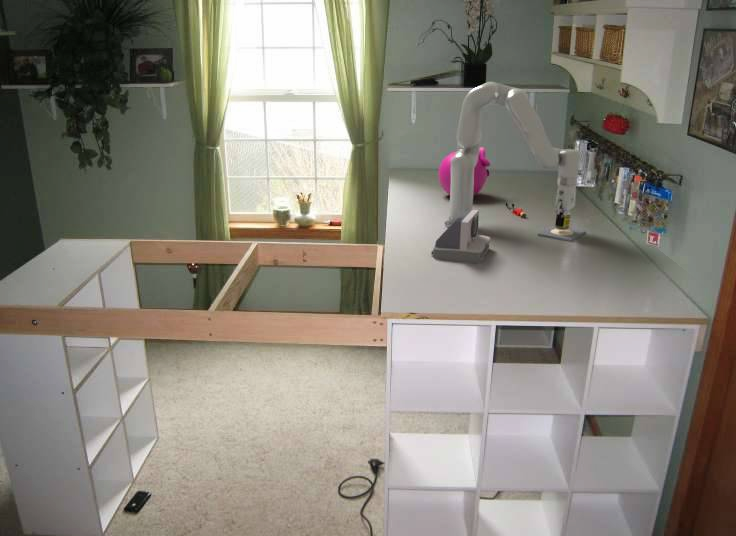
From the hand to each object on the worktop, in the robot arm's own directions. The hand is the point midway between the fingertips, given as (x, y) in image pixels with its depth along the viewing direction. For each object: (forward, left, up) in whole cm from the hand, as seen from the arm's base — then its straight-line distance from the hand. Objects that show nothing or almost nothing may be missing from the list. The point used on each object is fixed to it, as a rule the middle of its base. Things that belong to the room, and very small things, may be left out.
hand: (562, 224), depth 268 cm
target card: (0, 0, -4) cm, 4 cm away
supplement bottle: (0, 0, -2) cm, 2 cm away
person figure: (+20, +29, -5) cm, 35 cm away
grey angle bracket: (-47, +20, -5) cm, 51 cm away
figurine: (+31, +64, -4) cm, 71 cm away
